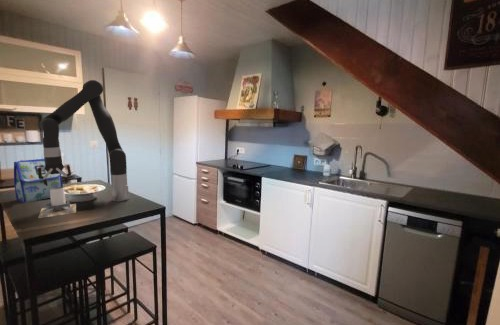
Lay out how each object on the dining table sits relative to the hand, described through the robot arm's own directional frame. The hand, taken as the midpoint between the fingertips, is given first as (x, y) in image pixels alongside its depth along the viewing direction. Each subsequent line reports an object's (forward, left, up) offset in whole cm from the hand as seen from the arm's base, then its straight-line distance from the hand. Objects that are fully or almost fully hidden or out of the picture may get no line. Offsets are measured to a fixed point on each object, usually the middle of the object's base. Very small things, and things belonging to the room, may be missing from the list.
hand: (56, 184), depth 141 cm
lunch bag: (+11, -36, -16) cm, 41 cm away
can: (0, 0, -14) cm, 14 cm away
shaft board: (0, +3, -15) cm, 16 cm away
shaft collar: (0, +3, -14) cm, 14 cm away
